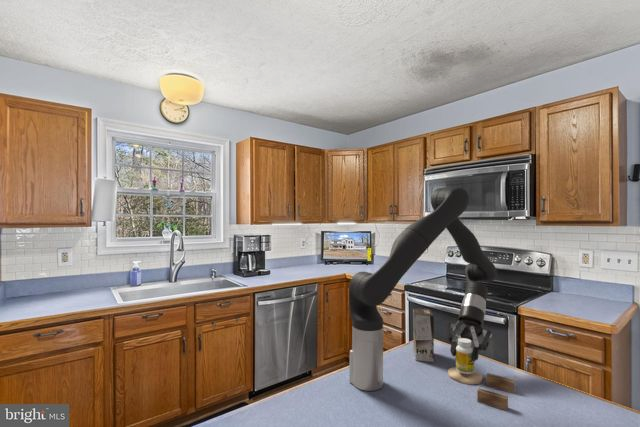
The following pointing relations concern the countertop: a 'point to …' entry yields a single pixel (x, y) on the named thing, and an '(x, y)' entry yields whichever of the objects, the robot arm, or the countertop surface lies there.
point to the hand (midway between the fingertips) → (463, 357)
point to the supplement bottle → (464, 356)
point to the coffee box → (423, 334)
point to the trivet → (465, 376)
